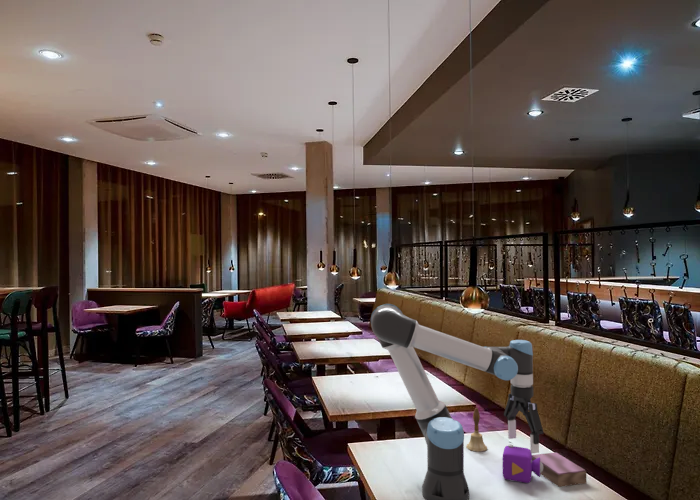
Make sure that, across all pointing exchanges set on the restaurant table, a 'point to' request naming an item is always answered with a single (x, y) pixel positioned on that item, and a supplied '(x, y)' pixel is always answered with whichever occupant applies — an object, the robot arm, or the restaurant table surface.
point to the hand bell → (476, 436)
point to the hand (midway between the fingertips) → (523, 445)
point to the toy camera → (520, 464)
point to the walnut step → (560, 470)
